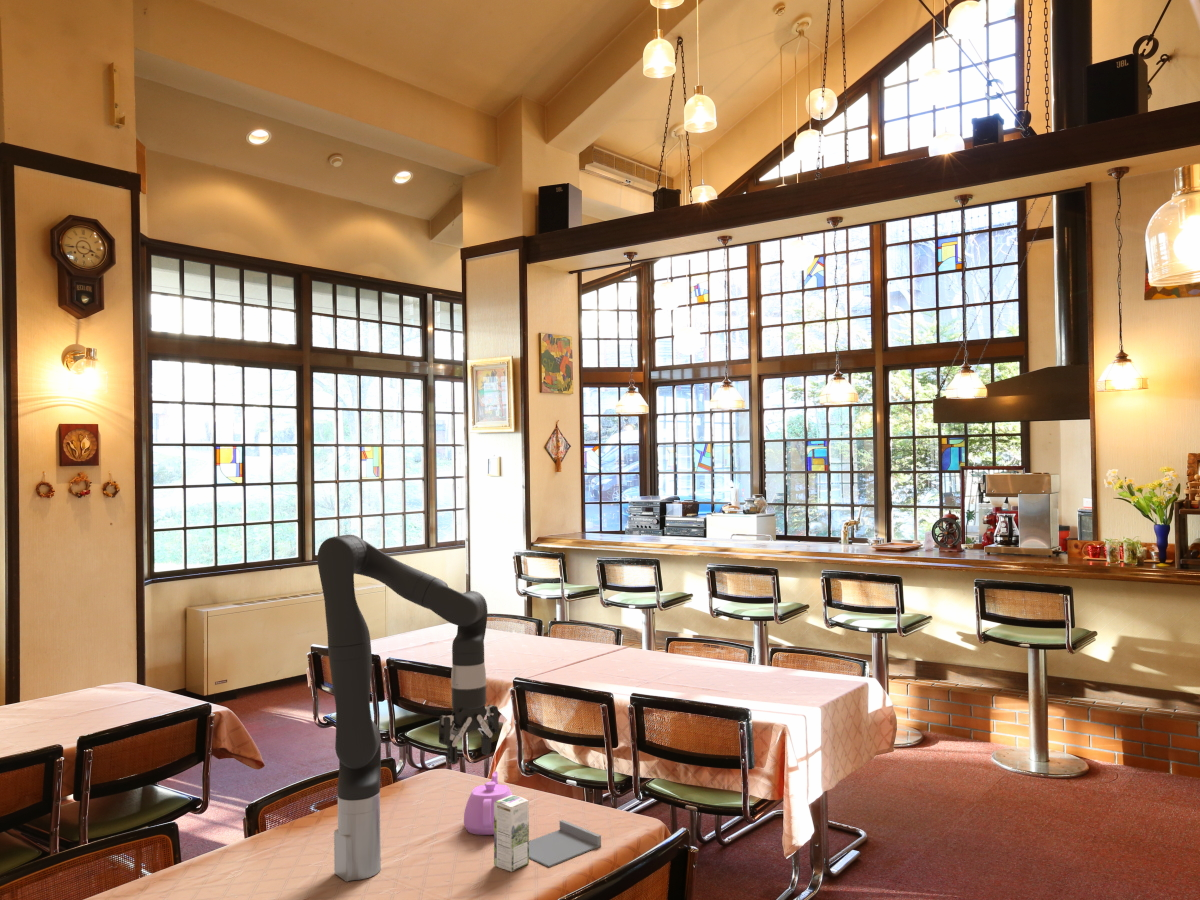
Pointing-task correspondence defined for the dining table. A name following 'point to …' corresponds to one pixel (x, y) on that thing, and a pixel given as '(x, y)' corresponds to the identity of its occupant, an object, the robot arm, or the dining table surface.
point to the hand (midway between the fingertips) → (469, 758)
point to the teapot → (484, 806)
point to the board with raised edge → (563, 844)
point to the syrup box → (511, 833)
